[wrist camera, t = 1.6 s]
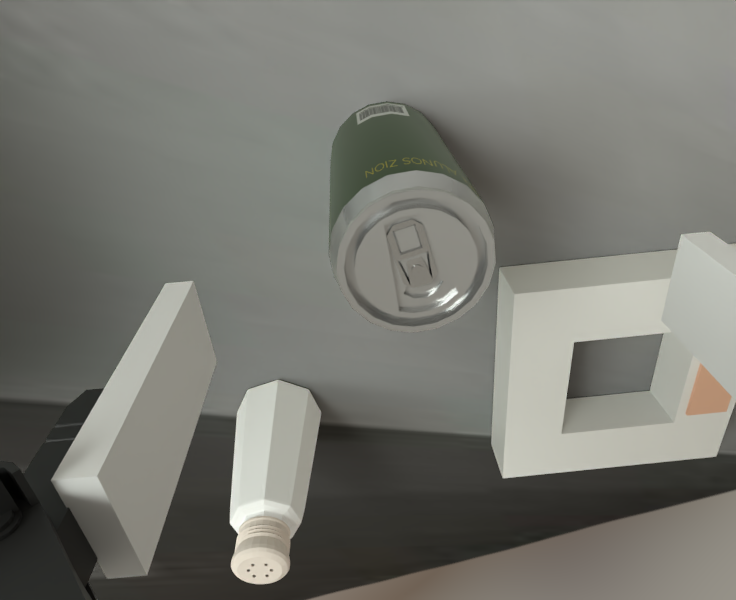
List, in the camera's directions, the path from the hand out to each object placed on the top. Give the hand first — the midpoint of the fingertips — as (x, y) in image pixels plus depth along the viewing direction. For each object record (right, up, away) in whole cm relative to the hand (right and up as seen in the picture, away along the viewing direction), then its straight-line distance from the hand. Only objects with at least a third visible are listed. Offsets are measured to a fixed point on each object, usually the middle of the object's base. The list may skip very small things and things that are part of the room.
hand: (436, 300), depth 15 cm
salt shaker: (-8, -7, +20) cm, 23 cm away
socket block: (+13, -3, +19) cm, 23 cm away
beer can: (-1, +7, +12) cm, 14 cm away
